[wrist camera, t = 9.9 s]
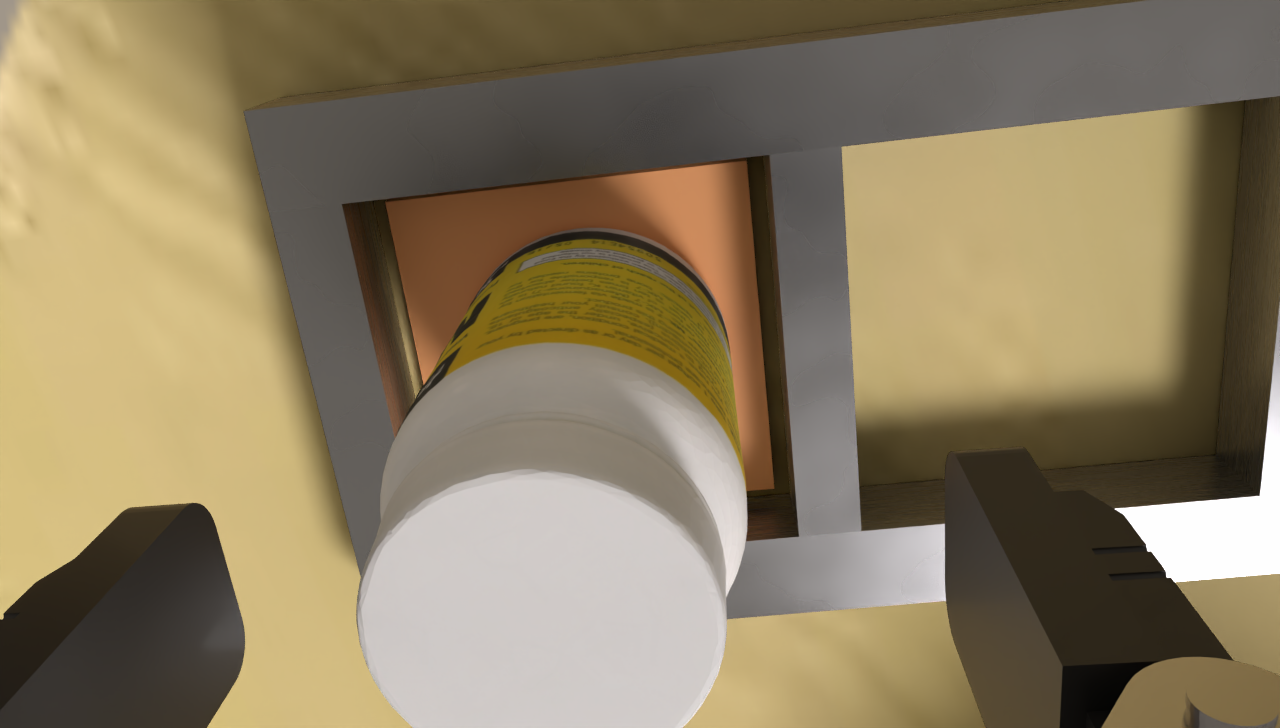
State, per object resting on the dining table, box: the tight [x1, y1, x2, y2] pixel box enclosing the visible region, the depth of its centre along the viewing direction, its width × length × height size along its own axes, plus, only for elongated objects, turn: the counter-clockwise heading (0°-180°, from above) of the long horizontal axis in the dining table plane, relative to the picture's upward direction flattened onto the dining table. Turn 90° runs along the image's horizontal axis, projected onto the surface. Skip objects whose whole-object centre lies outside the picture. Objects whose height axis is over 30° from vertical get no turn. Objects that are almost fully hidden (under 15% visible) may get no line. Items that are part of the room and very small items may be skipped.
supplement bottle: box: [357, 228, 747, 728], centre depth 15 cm, size 5×5×8 cm
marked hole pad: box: [385, 158, 774, 491], centre depth 19 cm, size 6×6×1 cm
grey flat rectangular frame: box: [243, 0, 1280, 619], centre depth 18 cm, size 25×10×2 cm, turn 97°
